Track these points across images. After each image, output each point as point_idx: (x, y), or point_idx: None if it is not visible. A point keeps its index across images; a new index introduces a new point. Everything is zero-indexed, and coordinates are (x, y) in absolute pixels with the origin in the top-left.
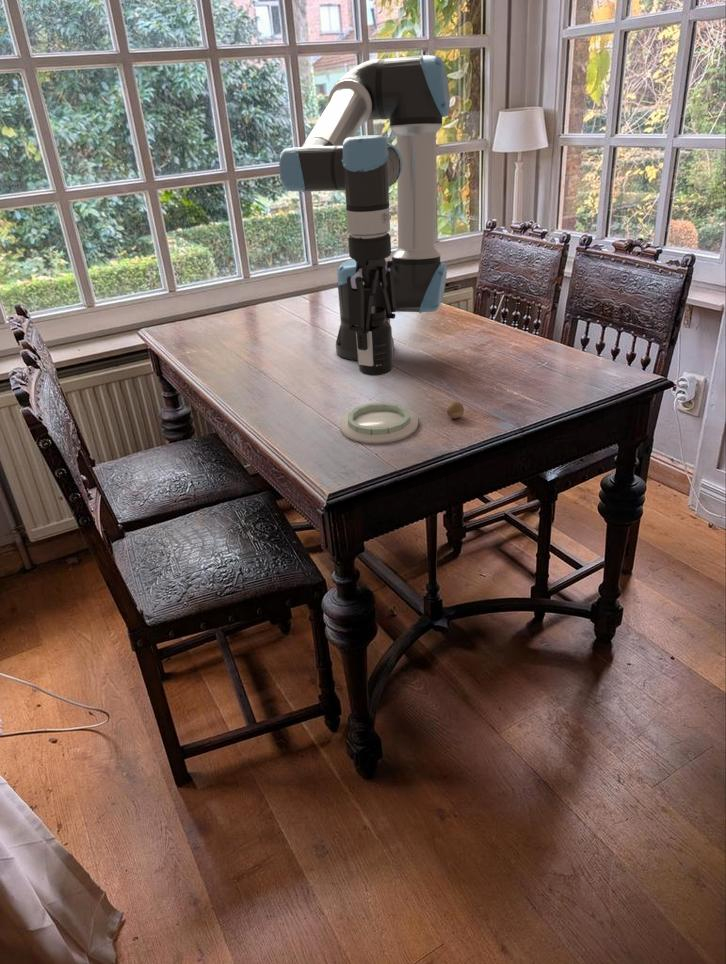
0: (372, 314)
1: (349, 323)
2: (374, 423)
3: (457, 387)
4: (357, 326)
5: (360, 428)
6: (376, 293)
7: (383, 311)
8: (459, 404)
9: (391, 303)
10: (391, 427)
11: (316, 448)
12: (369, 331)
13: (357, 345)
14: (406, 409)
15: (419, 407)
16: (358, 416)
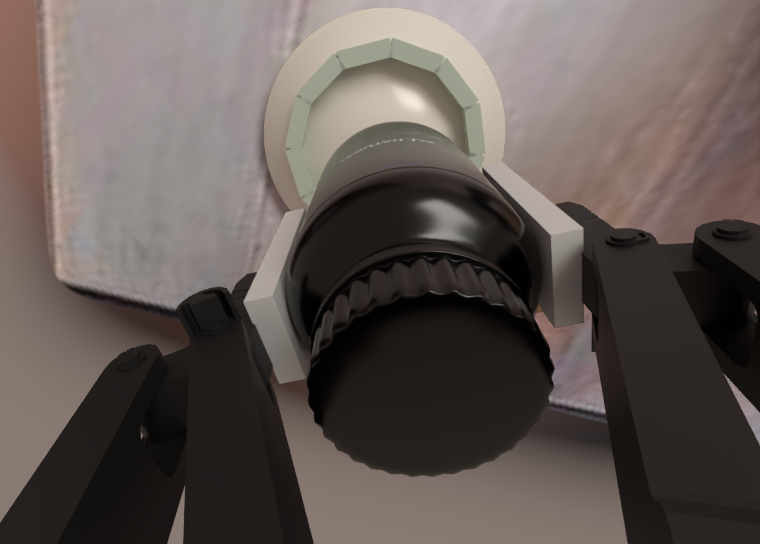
0: (341, 447)
1: (85, 401)
2: None
3: (727, 171)
4: (142, 430)
5: (289, 162)
6: (635, 470)
7: (446, 472)
8: (541, 310)
9: (728, 363)
10: None
11: (156, 91)
12: (298, 367)
13: (312, 200)
14: None
15: (547, 165)
16: (372, 68)
